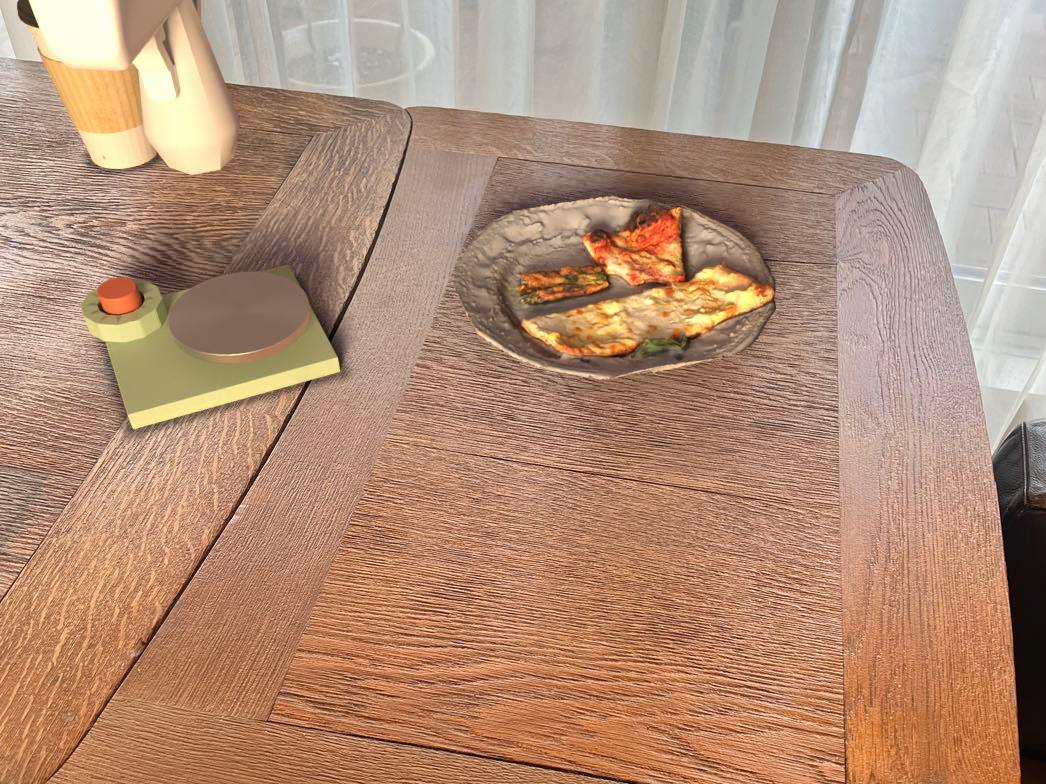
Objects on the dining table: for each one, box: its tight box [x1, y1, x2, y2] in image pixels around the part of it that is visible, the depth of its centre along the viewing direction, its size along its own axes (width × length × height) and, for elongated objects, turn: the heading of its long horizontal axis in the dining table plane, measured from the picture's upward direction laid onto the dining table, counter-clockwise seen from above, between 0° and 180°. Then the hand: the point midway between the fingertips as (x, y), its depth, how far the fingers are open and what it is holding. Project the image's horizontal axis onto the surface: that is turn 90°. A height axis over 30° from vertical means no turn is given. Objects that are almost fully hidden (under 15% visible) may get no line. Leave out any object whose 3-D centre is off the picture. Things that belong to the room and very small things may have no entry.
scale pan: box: [168, 271, 311, 364], centre depth 75 cm, size 10×10×1 cm
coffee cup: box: [16, 0, 158, 170], centre depth 91 cm, size 10×10×15 cm
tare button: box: [96, 276, 142, 316], centre depth 76 cm, size 3×3×2 cm
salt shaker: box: [138, 0, 241, 176], centre depth 61 cm, size 6×6×13 cm
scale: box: [80, 264, 341, 430], centre depth 77 cm, size 16×14×3 cm
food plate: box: [453, 195, 777, 381], centre depth 80 cm, size 25×23×4 cm
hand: (178, 79), depth 62 cm, fingers closed on salt shaker, 3 cm apart
